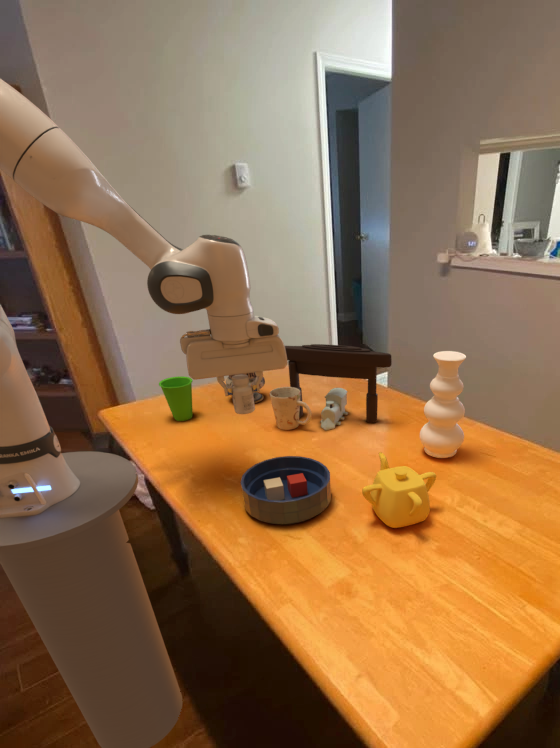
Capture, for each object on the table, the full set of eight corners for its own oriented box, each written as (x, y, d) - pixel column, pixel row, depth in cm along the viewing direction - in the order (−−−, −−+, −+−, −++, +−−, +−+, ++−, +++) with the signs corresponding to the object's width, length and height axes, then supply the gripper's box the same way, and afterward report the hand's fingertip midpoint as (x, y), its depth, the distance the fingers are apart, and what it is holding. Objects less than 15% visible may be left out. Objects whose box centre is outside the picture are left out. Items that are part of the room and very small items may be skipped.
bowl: (252, 535, 88) (248, 510, 85) (239, 487, 103) (235, 464, 99) (342, 516, 93) (341, 491, 90) (317, 472, 108) (316, 450, 105)
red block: (291, 497, 98) (290, 484, 96) (288, 489, 100) (286, 475, 99) (307, 494, 99) (306, 480, 97) (303, 486, 101) (302, 472, 100)
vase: (430, 466, 111) (439, 363, 98) (411, 446, 119) (417, 350, 106) (470, 458, 114) (484, 358, 101) (449, 440, 122) (459, 345, 109)
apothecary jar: (268, 391, 153) (262, 337, 144) (264, 405, 143) (257, 347, 133) (232, 392, 153) (223, 337, 143) (225, 406, 142) (215, 348, 133)
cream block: (268, 502, 96) (266, 488, 94) (265, 494, 99) (263, 480, 97) (284, 499, 97) (283, 485, 95) (281, 490, 100) (279, 477, 98)
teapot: (352, 521, 92) (351, 477, 86) (378, 490, 102) (379, 448, 96) (417, 540, 87) (421, 495, 81) (438, 505, 96) (443, 462, 91)
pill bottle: (258, 407, 102) (253, 374, 98) (250, 415, 99) (245, 381, 95) (240, 406, 103) (234, 372, 99) (231, 414, 100) (225, 379, 95)
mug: (284, 417, 135) (281, 384, 130) (321, 425, 131) (319, 391, 125) (267, 428, 129) (263, 394, 124) (305, 437, 124) (303, 402, 119)
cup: (160, 419, 134) (151, 383, 129) (186, 409, 141) (179, 374, 135) (180, 426, 130) (171, 389, 124) (206, 415, 136) (199, 380, 131)
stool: (385, 359, 113) (261, 350, 120) (383, 437, 124) (270, 424, 131) (397, 343, 126) (284, 335, 133) (394, 414, 137) (290, 404, 144)
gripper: (178, 336, 86) (193, 405, 93) (286, 325, 92) (291, 391, 99) (177, 328, 91) (191, 394, 98) (279, 319, 97) (285, 382, 104)
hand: (242, 393), depth 99 cm, fingers closed on pill bottle, 4 cm apart
